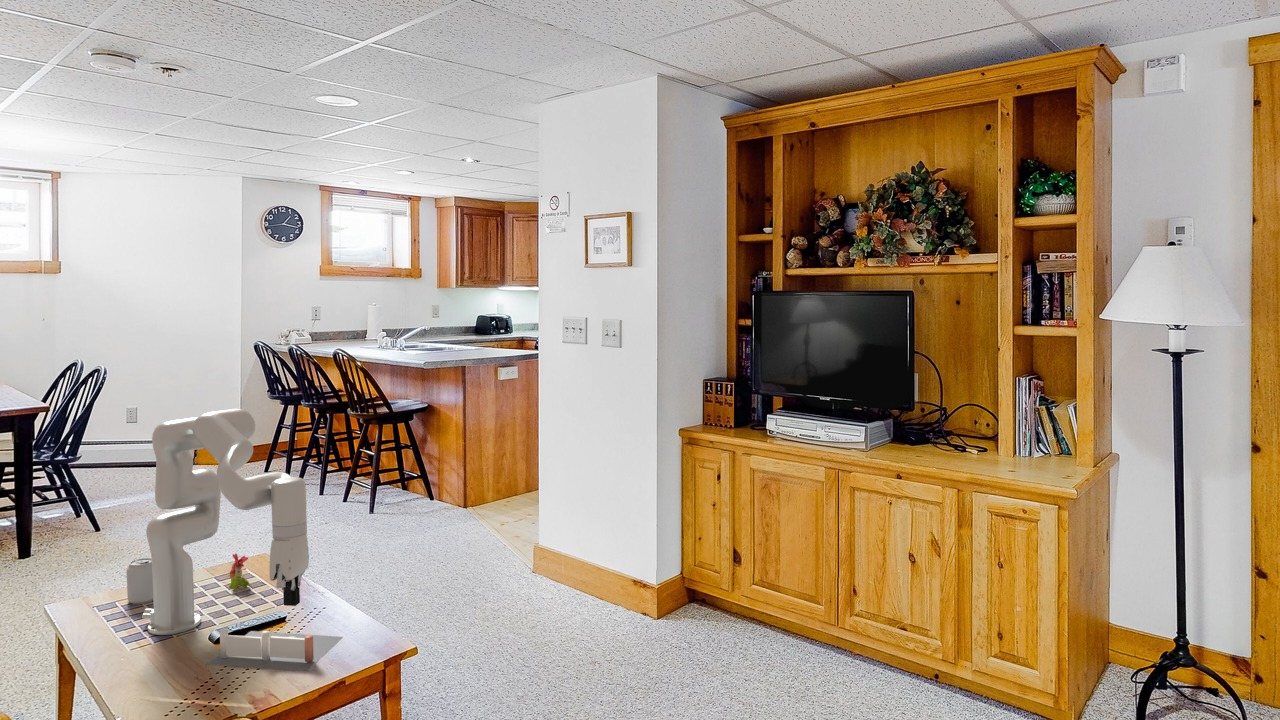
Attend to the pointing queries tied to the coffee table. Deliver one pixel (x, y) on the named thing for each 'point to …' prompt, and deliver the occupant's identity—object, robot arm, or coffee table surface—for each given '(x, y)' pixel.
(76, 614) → the coffee table surface
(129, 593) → the can
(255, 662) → the card
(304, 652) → the fence swing section
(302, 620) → the coffee table surface
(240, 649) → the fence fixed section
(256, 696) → the coffee table surface
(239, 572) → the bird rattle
